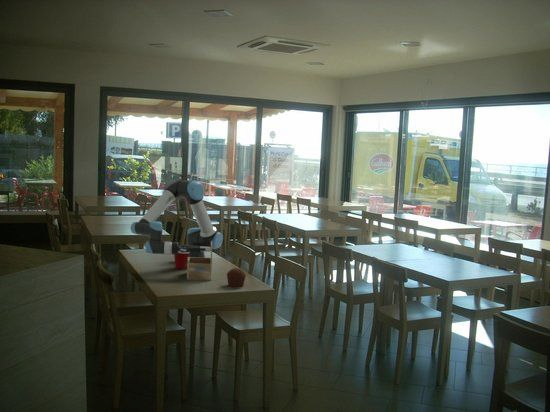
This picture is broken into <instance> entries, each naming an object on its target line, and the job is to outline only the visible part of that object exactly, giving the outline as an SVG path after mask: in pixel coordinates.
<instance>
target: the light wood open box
mask: <svg viewBox="0 0 550 412" xmlns="http://www.w3.org/2000/svg"><path fill="white" fill-rule="evenodd" d="M186 265H187V268H186V280H188V281H212V271H213V270H212V268H213V262H212V263H211V257H205V258H201V257H188V262H186Z"/></svg>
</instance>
